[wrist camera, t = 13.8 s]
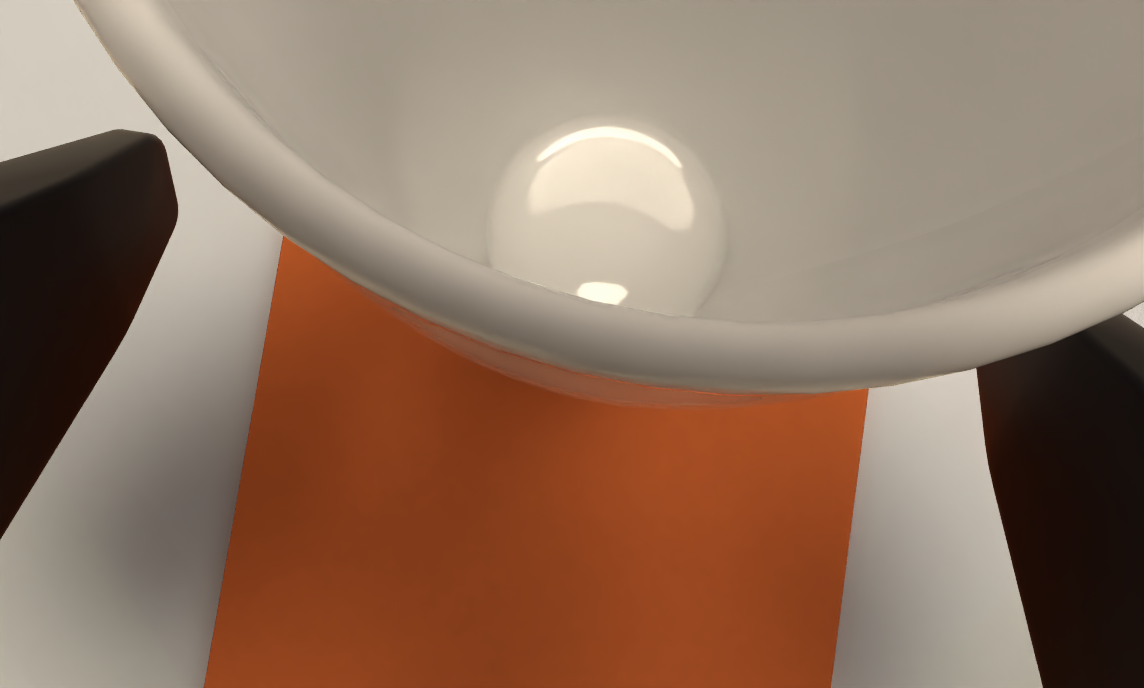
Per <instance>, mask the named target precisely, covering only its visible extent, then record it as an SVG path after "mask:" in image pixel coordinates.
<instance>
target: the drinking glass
mask: <svg viewBox="0 0 1144 688" xmlns="http://www.w3.org/2000/svg"><path fill="white" fill-rule="evenodd" d="M73 1H74V2H75V4H76V6H77V7H78V9H79V10H80V12H81V13H82V15H83V16H84V18H85V19H86V21H87V22H88V24H89V25H90V27H91V29H92V30H93V32H94V33H95V35H96V36H97V38H98V39H99V41H100V42H101V44H102V45H103V47H104V48H105V50H106V51H107V53H108V54H109V56H110V57H111V59H112V60H113V62H114V64H115V65H116V67H117V68H118V69H119V71H120V72H121V73H122V74H123V76H124V77H125V78H126V79H127V81H128V82H129V83H130V84H131V86H132V87H133V88H134V89H135V90H136V92H137V93H138V94H139V95H140V97H141V98H142V99H143V100H144V101H145V103H146V104H147V105H148V106H149V108H150V109H151V110H152V111H153V113H154V114H155V115H156V116H157V117H158V119H159V120H160V121H161V122H162V124H163V125H164V126H165V127H166V128H167V130H168V131H169V132H170V133H171V134H172V135H173V136H174V137H175V138H176V139H177V140H178V141H179V142H180V143H181V144H182V145H183V146H184V147H185V148H186V149H187V150H188V151H189V152H190V153H191V154H192V155H193V156H194V157H195V158H196V159H197V160H198V161H199V162H200V163H201V164H202V165H203V166H204V167H205V168H206V169H207V170H208V171H209V172H210V173H211V174H212V175H213V176H214V177H215V178H216V179H217V180H218V181H219V182H220V183H221V184H222V185H223V186H224V187H225V188H226V189H227V190H228V191H230V192H231V193H232V194H233V195H235V196H236V197H237V198H238V199H239V200H241V201H242V202H243V203H244V204H246V205H247V206H248V207H249V208H250V209H252V210H253V211H254V212H255V213H257V214H258V215H259V216H260V217H261V218H263V219H264V220H265V221H266V222H268V223H269V224H270V225H271V226H272V227H274V228H275V229H276V230H277V231H279V232H280V233H281V234H282V235H283V236H285V237H286V238H287V239H289V240H290V241H292V242H293V243H295V244H296V245H298V246H299V247H301V248H302V249H304V250H305V251H307V252H308V253H309V254H311V255H312V256H313V257H314V258H316V259H317V260H318V261H319V262H320V263H322V264H323V265H324V266H325V267H327V268H328V269H329V270H330V271H331V272H333V273H334V274H335V275H336V276H338V277H339V278H340V279H341V280H343V281H344V282H345V283H346V284H348V285H349V286H350V287H351V288H353V289H354V290H355V291H357V292H358V293H359V294H361V295H362V296H364V297H365V298H366V299H368V300H369V301H371V302H372V303H374V304H375V305H377V306H378V307H380V308H381V309H383V310H384V311H386V312H387V313H389V314H390V315H392V316H393V317H395V318H396V319H398V320H399V321H401V322H402V323H404V324H405V325H407V326H408V327H410V328H411V329H413V330H414V331H416V332H417V333H419V334H421V335H422V336H424V337H425V338H427V339H429V340H431V341H433V342H435V343H436V344H438V345H440V346H442V347H444V348H446V349H448V350H450V351H452V352H453V353H455V354H457V355H459V356H461V357H463V358H465V359H467V360H469V361H470V362H472V363H474V364H476V365H478V366H481V367H483V368H486V369H488V370H490V371H493V372H495V373H498V374H500V375H503V376H505V377H508V378H510V379H512V380H515V381H517V382H520V383H522V384H526V385H529V386H532V387H536V388H539V389H542V390H546V391H549V392H552V393H556V394H559V395H562V396H566V397H570V398H575V399H581V400H586V401H591V402H596V403H601V404H606V405H612V406H621V407H632V408H643V409H653V410H725V409H736V408H746V407H755V406H765V405H775V404H784V403H792V402H799V401H806V400H812V399H817V398H822V397H828V396H833V395H837V394H842V393H847V392H852V391H857V390H862V389H868V388H877V387H887V386H894V385H899V384H904V383H909V382H914V381H918V380H923V379H928V378H933V377H938V376H943V375H947V374H952V373H957V372H962V371H967V370H971V369H974V368H977V367H981V366H984V365H987V364H990V363H993V362H997V361H1000V360H1003V359H1006V358H1009V357H1013V356H1016V355H1019V354H1022V353H1025V352H1029V351H1032V350H1035V349H1038V348H1041V347H1045V346H1048V345H1050V344H1052V343H1055V342H1057V341H1060V340H1062V339H1064V338H1067V337H1069V336H1071V335H1074V334H1076V333H1078V332H1081V331H1083V330H1085V329H1088V328H1090V327H1092V326H1095V325H1097V324H1099V323H1102V322H1104V321H1106V320H1109V319H1111V318H1113V317H1116V316H1118V315H1120V314H1122V313H1124V312H1126V311H1128V310H1130V309H1132V308H1133V307H1135V306H1137V305H1139V304H1141V303H1142V302H1144V0H73Z"/></svg>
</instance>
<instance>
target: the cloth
mask: <svg viewBox="0 0 1144 688" xmlns="http://www.w3.org/2000/svg"><path fill="white" fill-rule="evenodd" d="M868 390H869V388H868V389H862V390H857V391H852V392H847V393H842V394H837V395H833V396H828V397H822V398H817V399H812V400H806V401H799V402H792V403H784V404H775V405H765V406H755V407H746V408H736V409H725V410H653V409H643V408H632V407H621V406H612V405H606V404H601V403H596V402H591V401H586V400H581V399H575V398H570V397H566V396H562V395H559V394H556V393H552V392H549V391H546V390H542V389H539V388H536V387H532V386H529V385H526V384H522V383H520V382H517V381H515V380H512V379H510V378H508V377H505V376H503V375H500V374H498V373H495V372H493V371H490V370H488V369H486V368H483V367H481V366H478V365H476V364H474V363H472V362H470V361H469V360H467V359H465V358H463V357H461V356H459V355H457V354H455V353H453V352H452V351H450V350H448V349H446V348H444V347H442V346H440V345H438V344H436V343H435V342H433V341H431V340H429V339H427V338H425V337H424V336H422V335H421V334H419V333H417V332H416V331H414V330H413V329H411V328H410V327H408V326H407V325H405V324H404V323H402V322H401V321H399V320H398V319H396V318H395V317H393V316H392V315H390V314H389V313H387V312H386V311H384V310H383V309H381V308H380V307H378V306H377V305H375V304H374V303H372V302H371V301H369V300H368V299H366V298H365V297H364V296H362V295H361V294H359V293H358V292H357V291H355V290H354V289H353V288H351V287H350V286H349V285H348V284H346V283H345V282H344V281H343V280H341V279H340V278H339V277H338V276H336V275H335V274H334V273H333V272H331V271H330V270H329V269H328V268H327V267H325V266H324V265H323V264H322V263H320V262H319V261H318V260H317V259H316V258H314V257H313V256H312V255H311V254H309V253H308V252H307V251H305V250H304V249H302V248H301V247H299V246H298V245H296V244H295V243H293V242H292V241H290V240H289V239H287V238H286V237H285V236H283V241H282V247H281V252H280V258H279V264H278V269H277V275H276V281H275V286H274V292H273V298H272V303H271V309H270V315H269V320H268V326H267V332H266V337H265V343H264V349H263V355H262V360H261V366H260V372H259V377H258V383H257V389H256V394H255V400H254V406H253V411H252V417H251V423H250V428H249V434H248V440H247V446H246V451H245V457H244V463H243V468H242V474H241V480H240V485H239V491H238V497H237V502H236V508H235V514H234V519H233V525H232V531H231V537H230V542H229V548H228V554H227V559H226V565H225V571H224V576H223V582H222V588H221V593H220V599H219V605H218V610H217V616H216V622H215V627H214V633H213V639H212V645H211V650H210V656H209V662H208V667H207V673H206V679H205V684H204V688H831V682H832V674H833V666H834V658H835V650H836V643H837V635H838V627H839V619H840V611H841V603H842V595H843V587H844V579H845V571H846V564H847V556H848V548H849V540H850V532H851V524H852V516H853V508H854V500H855V493H856V485H857V477H858V469H859V461H860V453H861V445H862V437H863V429H864V421H865V414H866V406H867V398H868Z"/></svg>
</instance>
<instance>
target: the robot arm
mask: <svg viewBox="0 0 1144 688" xmlns="http://www.w3.org/2000/svg"><path fill="white" fill-rule="evenodd" d="M177 218H178V203H177V198H176V193H175V189H174V184H173V180H172V175H171V171H170V166H169V162H168V157H167V153H166V149H165V146H164V145H163V143H162V141H161V140H160V139H159V138H158V137H157V136H155V135H153V134H149V133H143V132H136V131H129V130H123V129H117V130H112V131H108V132H105V133H101V134H98V135H94V136H91V137H87V138H84V139H80V140H77V141H73V142H70V143H66V144H63V145H59V146H56V147H52V148H49V149H45V150H42V151H38V152H35V153H31V154H28V155H24V156H21V157H17V158H14V159H10V160H7V161H3V162H0V539H1V538H2V536H3V534H4V533H5V531H6V530H7V528H8V526H9V525H10V523H11V521H12V520H13V518H14V517H15V515H16V513H17V512H18V510H19V508H20V507H21V505H22V503H23V502H24V500H25V499H26V497H27V495H28V494H29V492H30V490H31V489H32V487H33V486H34V484H35V482H36V481H37V479H38V477H39V476H40V474H41V473H42V471H43V469H44V468H45V466H46V464H47V463H48V461H49V460H50V458H51V456H52V455H53V453H54V451H55V450H56V448H57V447H58V445H59V443H60V442H61V440H62V438H63V437H64V435H65V433H66V432H67V430H68V429H69V427H70V425H71V424H72V422H73V420H74V419H75V417H76V416H77V414H78V412H79V411H80V409H81V407H82V406H83V404H84V403H85V401H86V399H87V398H88V396H89V394H90V393H91V391H92V390H93V388H94V386H95V385H96V383H97V381H98V380H99V378H100V377H101V375H102V373H103V372H104V370H105V368H106V367H107V365H108V363H109V362H110V360H111V359H112V357H113V355H114V354H115V352H116V350H117V349H118V347H119V345H120V343H121V342H122V340H123V338H124V336H125V335H126V333H127V331H128V329H129V327H130V325H131V323H132V321H133V319H134V317H135V314H136V312H137V310H138V308H139V306H140V303H141V301H142V299H143V297H144V295H145V292H146V290H147V288H148V286H149V284H150V281H151V279H152V277H153V275H154V272H155V270H156V268H157V266H158V264H159V261H160V259H161V257H162V255H163V253H164V250H165V248H166V246H167V244H168V242H169V239H170V237H171V235H172V233H173V230H174V228H175V225H176V222H177ZM976 369H977V378H978V386H979V395H980V403H981V412H982V420H983V429H984V438H985V446H986V452H987V459H988V465H989V470H990V474H991V479H992V483H993V488H994V492H995V496H996V500H997V504H998V508H999V512H1000V516H1001V520H1002V524H1003V528H1004V532H1005V536H1006V540H1007V544H1008V548H1009V552H1010V556H1011V560H1012V564H1013V568H1014V572H1015V576H1016V580H1017V584H1018V588H1019V592H1020V597H1021V601H1022V605H1023V609H1024V613H1025V617H1026V621H1027V625H1028V629H1029V633H1030V637H1031V641H1032V645H1033V649H1034V653H1035V657H1036V661H1037V665H1038V669H1039V673H1040V677H1041V681H1042V685H1043V688H1144V328H1143V327H1142V326H1140V325H1138V324H1137V323H1135V322H1134V321H1132V320H1131V319H1129V318H1128V317H1126V316H1125V315H1123V314H1120V315H1118V316H1116V317H1113V318H1111V319H1109V320H1106V321H1104V322H1102V323H1099V324H1097V325H1095V326H1092V327H1090V328H1088V329H1085V330H1083V331H1081V332H1078V333H1076V334H1074V335H1071V336H1069V337H1067V338H1064V339H1062V340H1060V341H1057V342H1055V343H1052V344H1050V345H1048V346H1045V347H1041V348H1038V349H1035V350H1032V351H1029V352H1025V353H1022V354H1019V355H1016V356H1013V357H1009V358H1006V359H1003V360H1000V361H997V362H993V363H990V364H987V365H984V366H981V367H977V368H976Z"/></svg>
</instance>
